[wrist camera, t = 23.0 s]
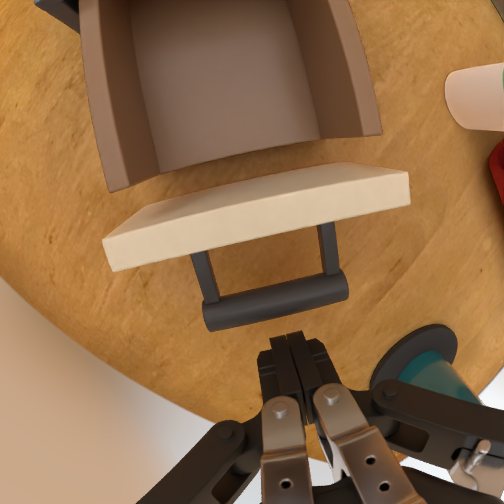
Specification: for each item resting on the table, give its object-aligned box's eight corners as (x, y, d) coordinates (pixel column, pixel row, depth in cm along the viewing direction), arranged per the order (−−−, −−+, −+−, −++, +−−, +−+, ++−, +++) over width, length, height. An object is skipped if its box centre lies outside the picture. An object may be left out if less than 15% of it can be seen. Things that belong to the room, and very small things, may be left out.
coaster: (366, 415, 23) (368, 419, 22) (371, 345, 20) (374, 350, 19) (444, 381, 23) (447, 385, 22) (461, 309, 20) (465, 313, 19)
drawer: (357, 257, 16) (410, 307, 11) (175, 299, 16) (155, 369, 10) (292, -37, 10) (319, -96, 4) (106, 1, 10) (62, -46, 4)
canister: (393, 398, 21) (455, 511, 9) (400, 361, 20) (483, 488, 8) (436, 380, 21) (504, 477, 9) (446, 341, 20) (534, 445, 8)
